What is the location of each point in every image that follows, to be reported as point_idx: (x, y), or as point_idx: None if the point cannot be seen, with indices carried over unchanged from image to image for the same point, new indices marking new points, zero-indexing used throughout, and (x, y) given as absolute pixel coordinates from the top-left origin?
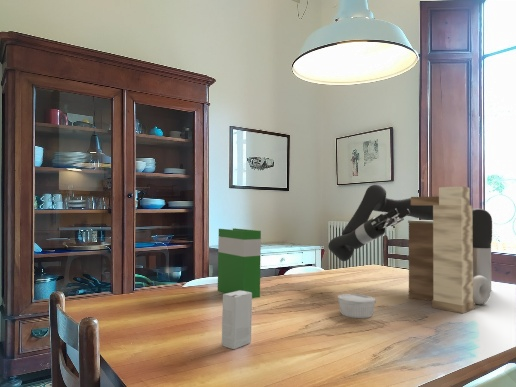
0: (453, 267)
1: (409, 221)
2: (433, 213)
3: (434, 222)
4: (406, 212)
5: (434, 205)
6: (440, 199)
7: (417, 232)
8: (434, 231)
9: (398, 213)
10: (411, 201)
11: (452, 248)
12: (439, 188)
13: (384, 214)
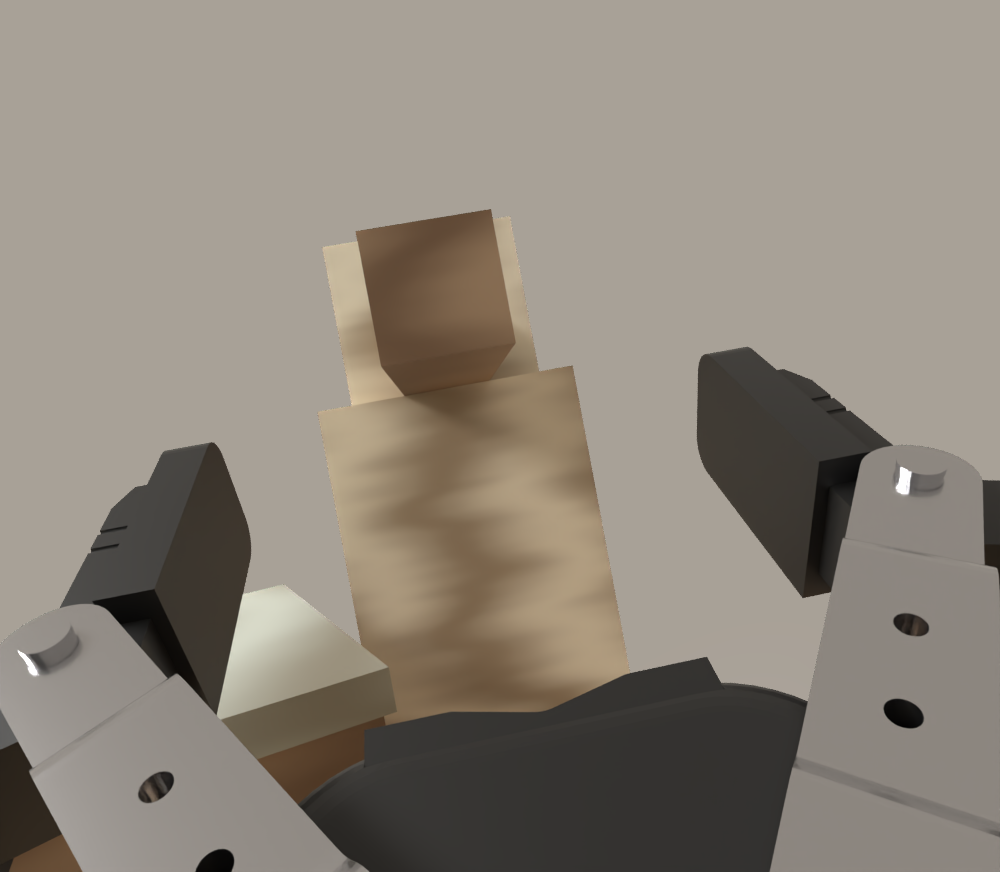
0: None
1: (383, 680)
2: (586, 443)
3: (600, 525)
4: (230, 532)
5: (571, 369)
6: (528, 326)
7: None
8: (616, 607)
9: (111, 617)
10: (501, 285)
11: None
12: (510, 228)
13: (970, 485)
